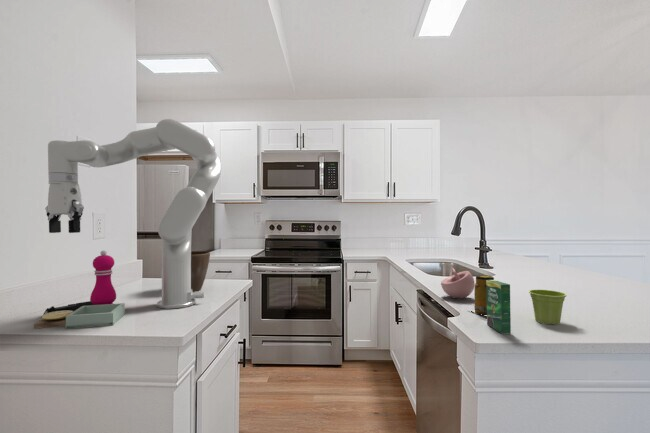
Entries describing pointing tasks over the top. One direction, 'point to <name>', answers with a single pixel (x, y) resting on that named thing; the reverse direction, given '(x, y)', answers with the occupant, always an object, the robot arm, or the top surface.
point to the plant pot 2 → (547, 305)
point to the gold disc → (56, 315)
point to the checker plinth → (50, 323)
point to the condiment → (481, 294)
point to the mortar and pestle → (458, 284)
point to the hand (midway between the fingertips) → (64, 232)
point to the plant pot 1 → (198, 268)
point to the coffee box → (498, 306)
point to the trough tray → (95, 316)
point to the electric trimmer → (68, 307)
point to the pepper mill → (103, 280)
